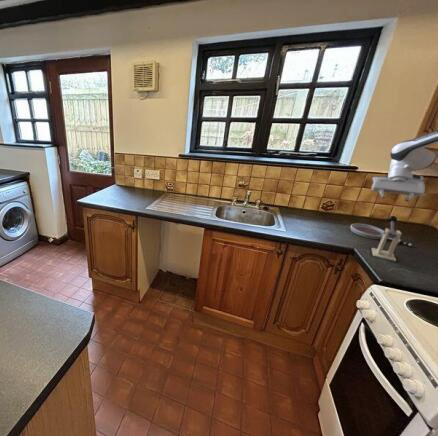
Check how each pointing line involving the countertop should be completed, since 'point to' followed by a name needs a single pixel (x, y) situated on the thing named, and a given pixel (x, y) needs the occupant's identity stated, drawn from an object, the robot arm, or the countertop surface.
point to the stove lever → (392, 226)
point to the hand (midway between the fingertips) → (394, 199)
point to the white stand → (389, 253)
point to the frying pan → (370, 232)
